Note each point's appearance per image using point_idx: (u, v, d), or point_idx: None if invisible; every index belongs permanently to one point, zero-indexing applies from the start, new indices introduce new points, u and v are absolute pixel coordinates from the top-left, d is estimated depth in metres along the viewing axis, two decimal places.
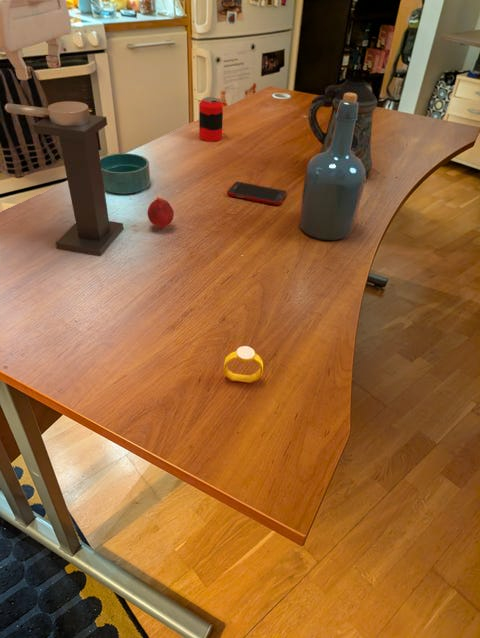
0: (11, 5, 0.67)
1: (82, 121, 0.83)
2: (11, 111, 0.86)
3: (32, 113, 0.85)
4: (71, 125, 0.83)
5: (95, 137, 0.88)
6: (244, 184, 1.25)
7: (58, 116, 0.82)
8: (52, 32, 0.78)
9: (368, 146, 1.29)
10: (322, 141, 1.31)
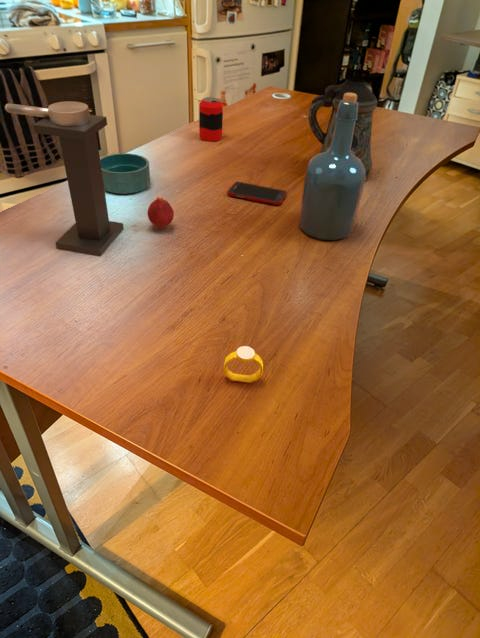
0: None
1: (82, 121, 0.83)
2: (11, 111, 0.86)
3: (32, 113, 0.85)
4: (71, 125, 0.83)
5: (95, 137, 0.88)
6: (244, 184, 1.25)
7: (58, 116, 0.82)
8: None
9: (368, 146, 1.29)
10: (322, 141, 1.31)
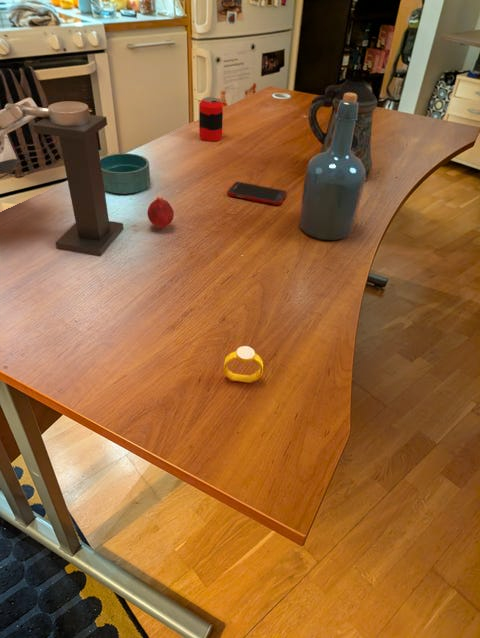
0: None
1: (82, 121, 0.83)
2: None
3: (32, 113, 0.85)
4: (71, 125, 0.83)
5: (95, 137, 0.88)
6: (244, 184, 1.25)
7: (59, 116, 0.82)
8: None
9: (368, 146, 1.29)
10: (322, 141, 1.31)
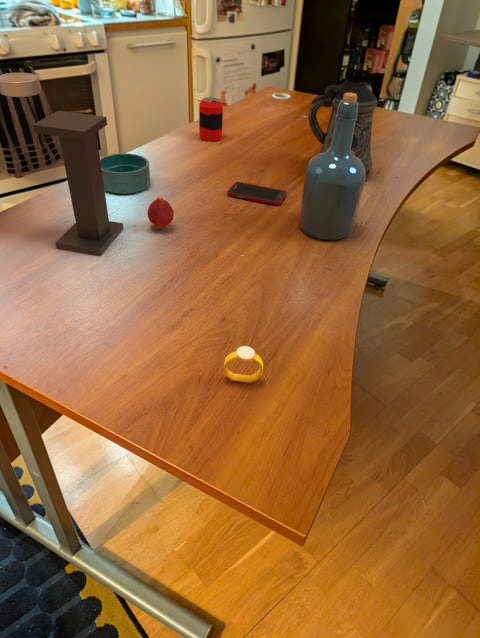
0: None
1: (31, 91, 0.82)
2: None
3: None
4: (20, 95, 0.82)
5: (95, 137, 0.88)
6: (244, 184, 1.25)
7: (6, 86, 0.80)
8: None
9: (368, 146, 1.29)
10: (322, 141, 1.31)
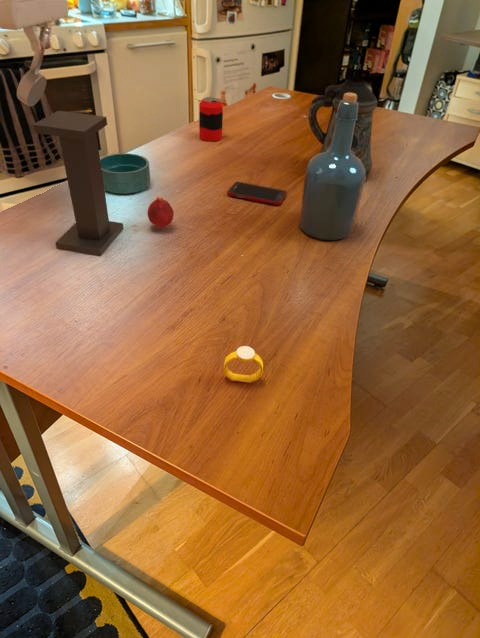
0: None
1: (22, 101, 0.98)
2: (40, 34, 0.90)
3: (36, 56, 0.92)
4: (17, 96, 0.96)
5: (95, 137, 0.88)
6: (244, 184, 1.25)
7: (24, 93, 0.95)
8: (52, 14, 0.91)
9: (368, 146, 1.29)
10: (322, 141, 1.31)
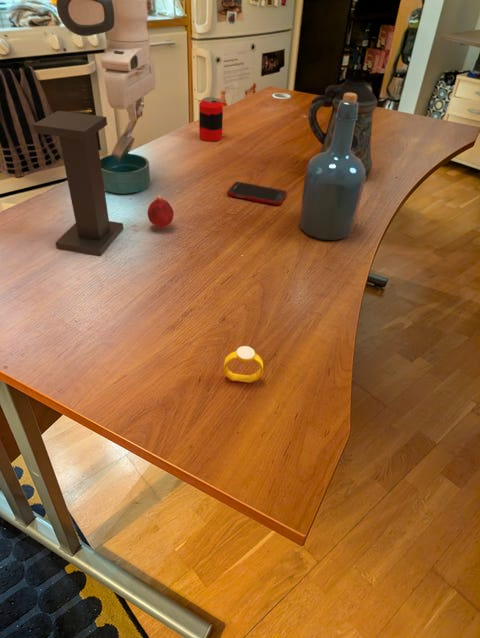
0: (128, 78, 0.99)
1: None
2: (137, 107, 1.09)
3: (130, 123, 1.11)
4: (112, 154, 1.15)
5: (95, 137, 0.88)
6: (244, 184, 1.25)
7: (119, 153, 1.14)
8: (146, 90, 1.09)
9: (368, 146, 1.29)
10: (322, 141, 1.31)
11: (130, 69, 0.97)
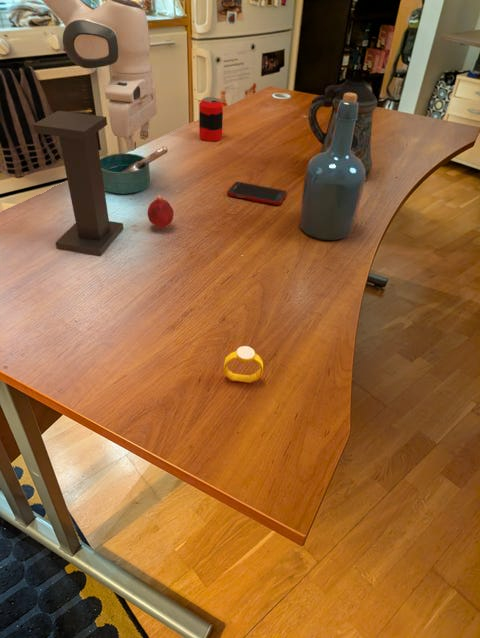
0: (130, 108, 1.03)
1: None
2: (160, 151, 1.14)
3: (147, 160, 1.16)
4: None
5: (95, 137, 0.88)
6: (244, 184, 1.25)
7: None
8: (148, 117, 1.13)
9: (368, 146, 1.29)
10: (322, 141, 1.31)
11: (133, 100, 1.01)
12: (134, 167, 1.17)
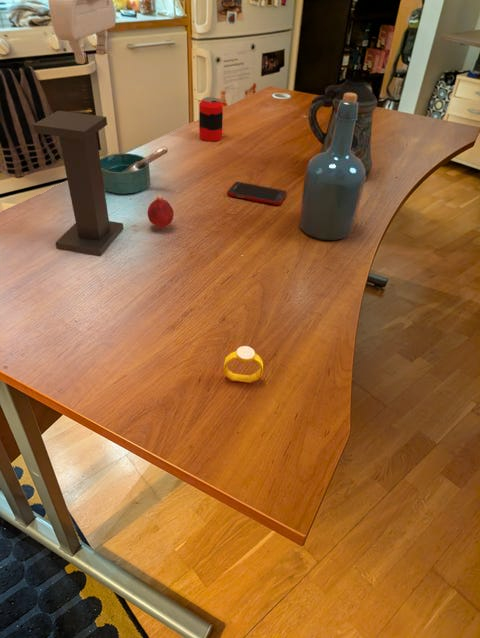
0: (76, 3, 0.86)
1: None
2: (160, 151, 1.14)
3: (147, 160, 1.16)
4: None
5: (95, 137, 0.88)
6: (244, 184, 1.25)
7: None
8: (102, 25, 0.96)
9: (368, 146, 1.29)
10: (322, 141, 1.31)
11: None
12: (134, 167, 1.17)
